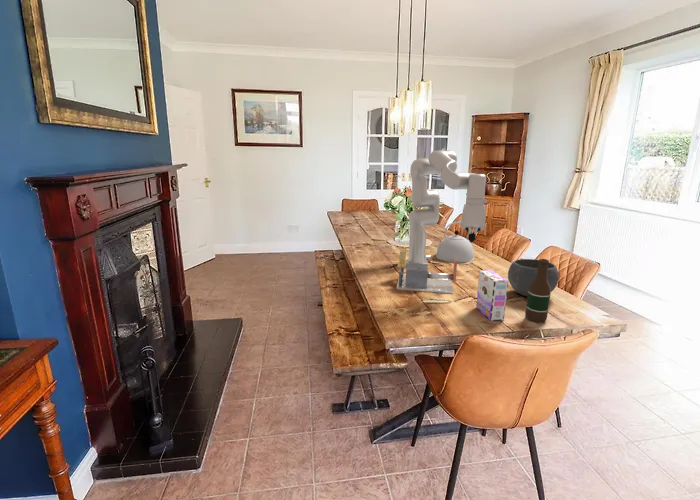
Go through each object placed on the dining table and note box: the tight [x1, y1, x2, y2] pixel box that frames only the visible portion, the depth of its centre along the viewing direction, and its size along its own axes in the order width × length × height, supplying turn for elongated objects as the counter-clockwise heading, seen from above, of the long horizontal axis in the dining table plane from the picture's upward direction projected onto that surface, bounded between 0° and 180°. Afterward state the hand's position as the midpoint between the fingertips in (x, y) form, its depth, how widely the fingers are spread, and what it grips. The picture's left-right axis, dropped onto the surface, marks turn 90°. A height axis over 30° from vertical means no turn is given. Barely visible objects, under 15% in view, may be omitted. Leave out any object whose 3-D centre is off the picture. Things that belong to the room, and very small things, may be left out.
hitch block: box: [396, 263, 454, 294], centre depth 182 cm, size 26×18×9 cm
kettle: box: [435, 221, 475, 264], centre depth 231 cm, size 25×23×23 cm
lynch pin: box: [427, 259, 458, 284], centre depth 179 cm, size 16×5×11 cm, turn 79°
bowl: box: [507, 258, 560, 297], centre depth 170 cm, size 20×20×15 cm
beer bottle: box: [524, 258, 552, 324], centre depth 143 cm, size 8×8×24 cm
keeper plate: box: [397, 250, 407, 269], centre depth 187 cm, size 4×7×7 cm, turn 169°
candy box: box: [476, 269, 509, 322], centre depth 149 cm, size 14×6×16 cm, turn 5°
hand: (471, 241), depth 173 cm, fingers closed
